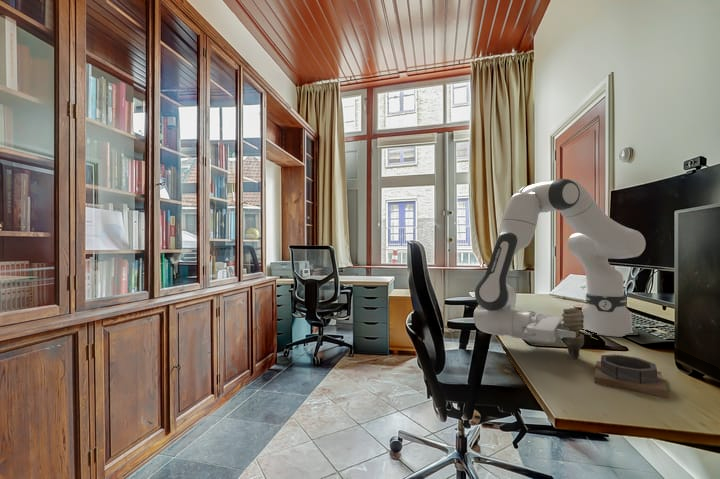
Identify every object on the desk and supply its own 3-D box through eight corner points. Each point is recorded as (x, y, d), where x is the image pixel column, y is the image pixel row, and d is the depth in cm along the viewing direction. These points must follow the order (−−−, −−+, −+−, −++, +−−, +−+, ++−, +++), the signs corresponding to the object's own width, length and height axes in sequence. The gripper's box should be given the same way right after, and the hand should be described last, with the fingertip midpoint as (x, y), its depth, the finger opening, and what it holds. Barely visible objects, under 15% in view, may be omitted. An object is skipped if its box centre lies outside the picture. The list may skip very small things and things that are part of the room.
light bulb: (589, 362, 91) (587, 310, 91) (568, 361, 92) (566, 310, 92) (580, 355, 97) (578, 306, 96) (560, 354, 98) (558, 306, 98)
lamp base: (596, 366, 88) (596, 350, 88) (660, 377, 80) (660, 359, 80) (594, 382, 78) (593, 364, 78) (667, 397, 70) (666, 377, 70)
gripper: (517, 322, 95) (573, 329, 86) (531, 310, 111) (579, 314, 102) (518, 343, 94) (573, 352, 86) (532, 328, 110) (580, 334, 102)
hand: (577, 331), depth 94 cm, fingers closed on light bulb, 5 cm apart
